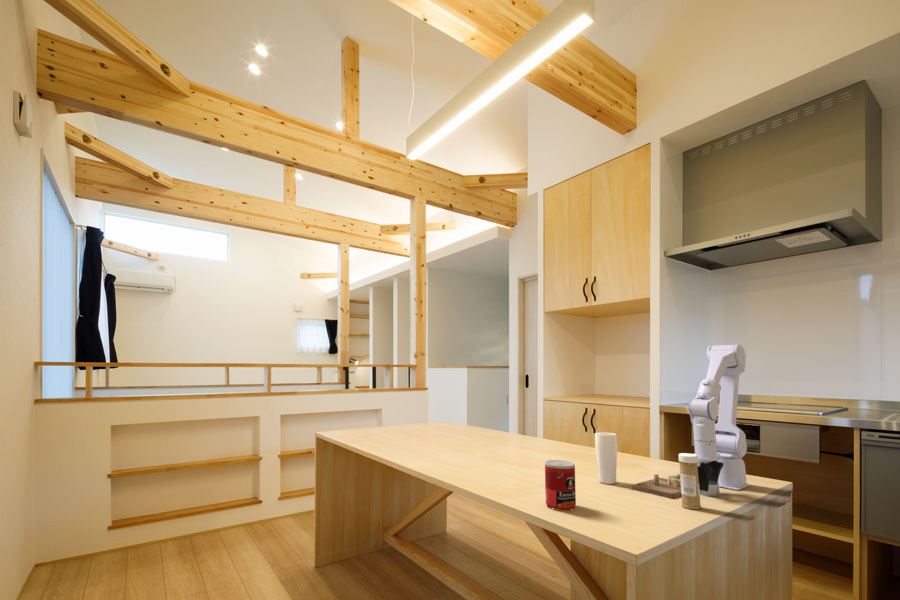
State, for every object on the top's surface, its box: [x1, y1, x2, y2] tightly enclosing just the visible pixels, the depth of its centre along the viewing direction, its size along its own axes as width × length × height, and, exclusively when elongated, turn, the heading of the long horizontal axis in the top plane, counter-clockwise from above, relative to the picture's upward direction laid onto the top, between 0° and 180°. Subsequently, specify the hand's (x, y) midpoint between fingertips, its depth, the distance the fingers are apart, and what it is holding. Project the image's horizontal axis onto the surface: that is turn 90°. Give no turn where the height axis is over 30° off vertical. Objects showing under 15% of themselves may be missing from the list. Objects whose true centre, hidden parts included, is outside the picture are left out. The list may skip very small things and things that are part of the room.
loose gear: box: [700, 481, 721, 497], centre depth 134 cm, size 5×5×3 cm
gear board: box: [631, 473, 682, 499], centre depth 138 cm, size 16×12×4 cm
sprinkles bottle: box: [678, 452, 702, 510], centre depth 121 cm, size 5×5×13 cm
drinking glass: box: [594, 431, 618, 485], centre depth 146 cm, size 7×7×15 cm
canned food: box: [544, 459, 577, 511], centre depth 121 cm, size 8×8×11 cm
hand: (708, 488), depth 134 cm, fingers closed on loose gear, 5 cm apart
